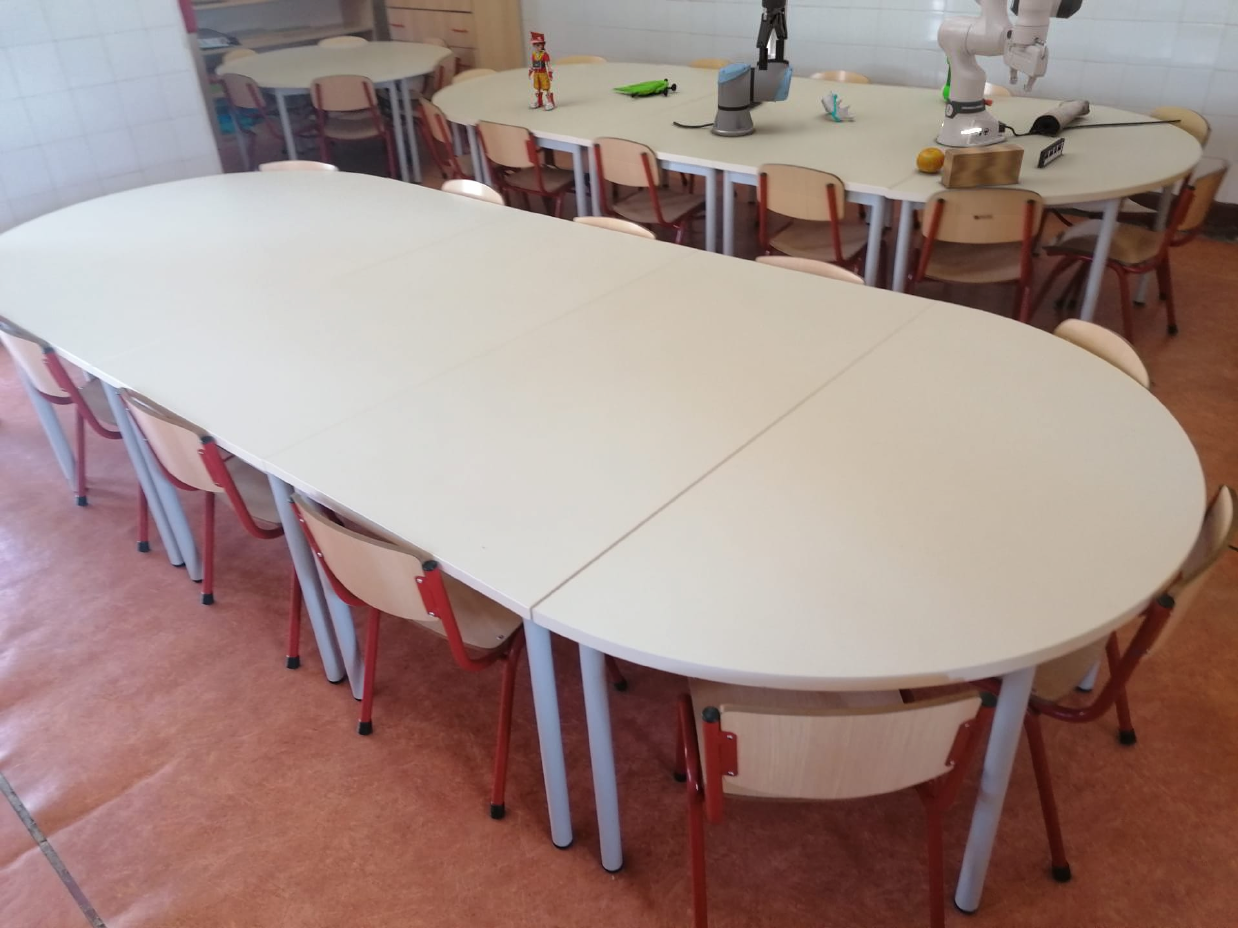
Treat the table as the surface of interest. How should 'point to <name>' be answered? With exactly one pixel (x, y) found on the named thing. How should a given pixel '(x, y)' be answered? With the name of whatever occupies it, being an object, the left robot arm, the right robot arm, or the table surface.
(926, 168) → the fruit
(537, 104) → the toy
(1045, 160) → the midi keyboard
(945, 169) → the box
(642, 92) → the toy
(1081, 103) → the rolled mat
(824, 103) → the anatomical model
